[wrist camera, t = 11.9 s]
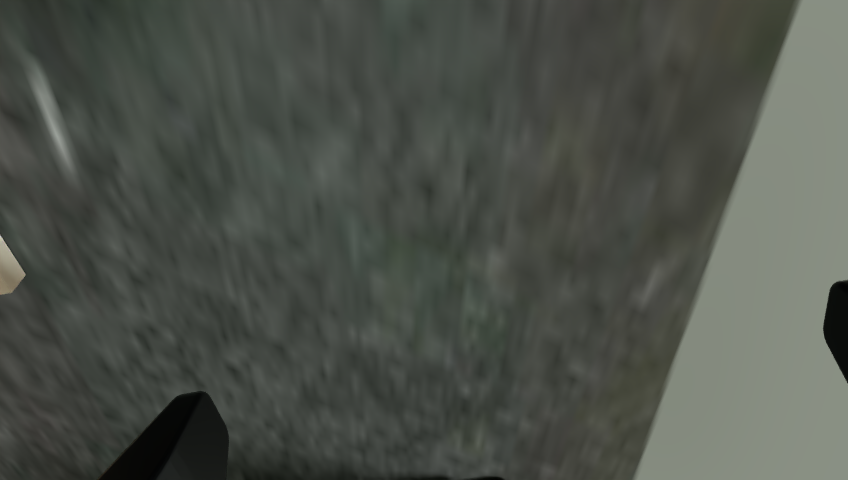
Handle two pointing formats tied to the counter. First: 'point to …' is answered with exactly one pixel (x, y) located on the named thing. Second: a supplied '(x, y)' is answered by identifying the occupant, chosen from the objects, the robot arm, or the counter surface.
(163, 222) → the counter surface
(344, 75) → the counter surface
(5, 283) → the pink and beige box
